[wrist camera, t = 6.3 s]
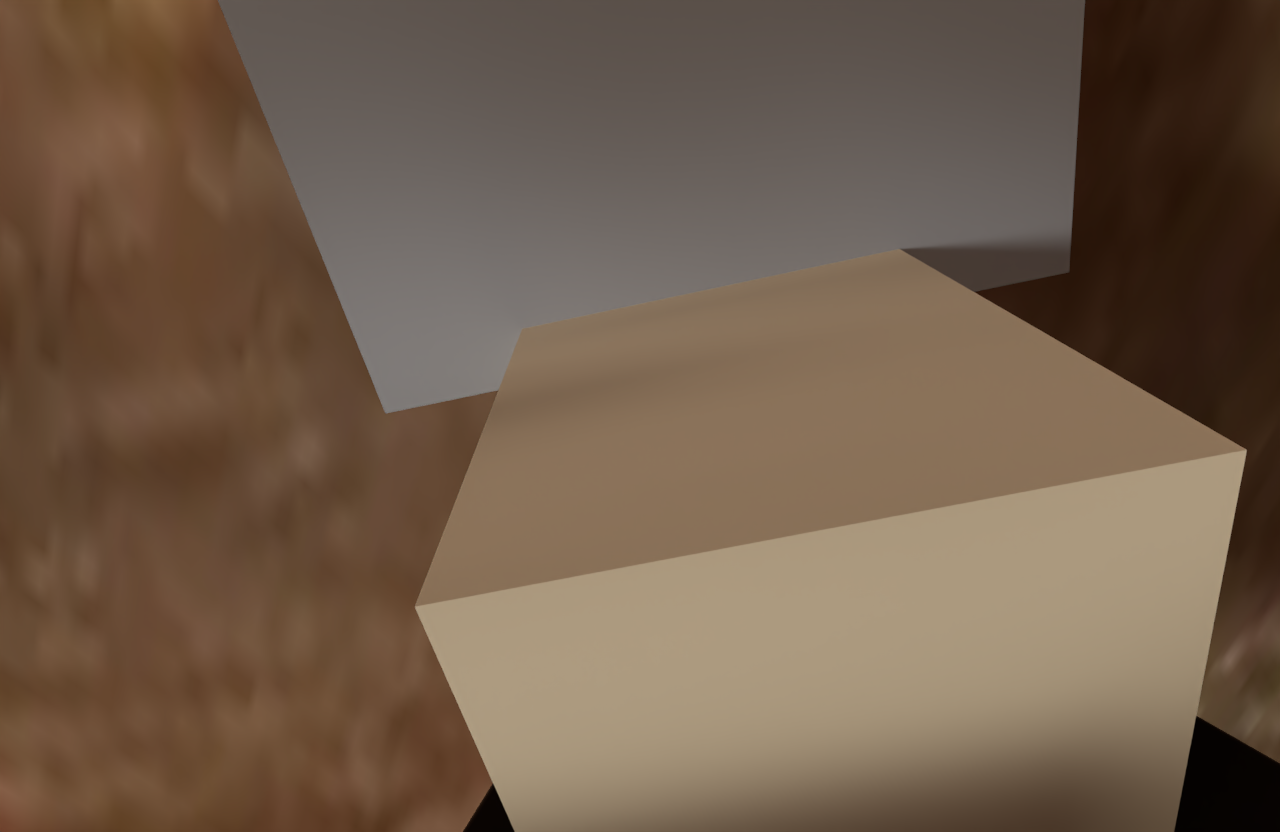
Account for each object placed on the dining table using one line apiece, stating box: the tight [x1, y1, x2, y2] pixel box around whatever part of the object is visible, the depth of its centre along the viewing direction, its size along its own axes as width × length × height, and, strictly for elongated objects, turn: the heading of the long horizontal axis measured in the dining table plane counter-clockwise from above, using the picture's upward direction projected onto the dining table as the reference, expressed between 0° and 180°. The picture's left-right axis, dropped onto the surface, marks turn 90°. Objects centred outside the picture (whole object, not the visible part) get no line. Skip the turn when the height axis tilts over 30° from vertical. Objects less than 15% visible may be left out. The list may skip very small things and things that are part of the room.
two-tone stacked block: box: [218, 0, 1247, 832], centre depth 5 cm, size 11×6×4 cm, turn 12°
